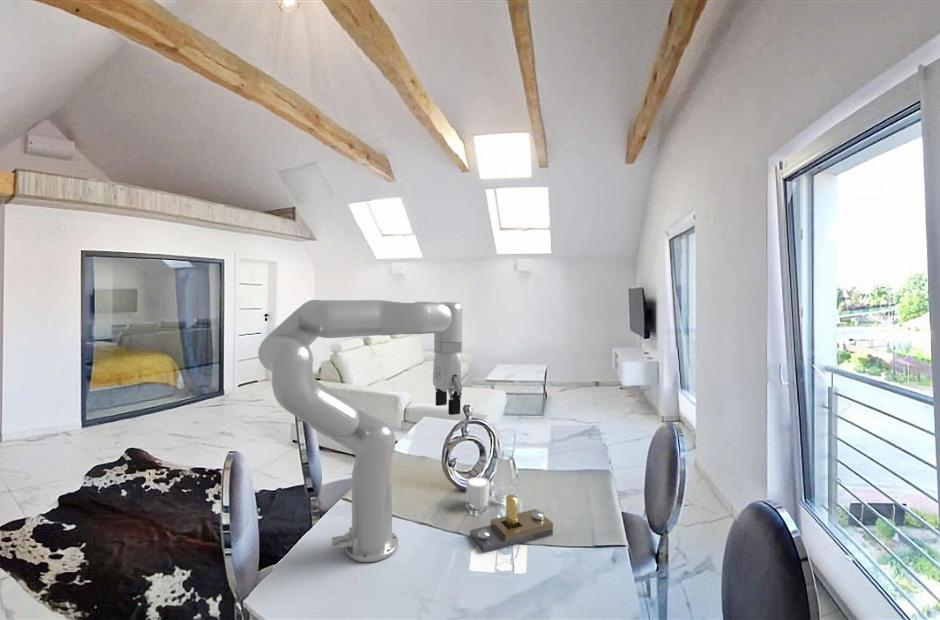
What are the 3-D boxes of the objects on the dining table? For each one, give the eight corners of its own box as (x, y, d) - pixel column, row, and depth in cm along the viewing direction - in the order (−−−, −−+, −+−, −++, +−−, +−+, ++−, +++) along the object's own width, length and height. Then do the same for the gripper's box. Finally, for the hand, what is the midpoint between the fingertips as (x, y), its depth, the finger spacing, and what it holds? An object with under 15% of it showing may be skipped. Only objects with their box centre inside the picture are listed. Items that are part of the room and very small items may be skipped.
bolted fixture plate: (483, 552, 107) (483, 536, 107) (469, 535, 114) (469, 520, 114) (552, 534, 115) (553, 519, 115) (535, 519, 123) (536, 505, 122)
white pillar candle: (487, 511, 127) (487, 487, 126) (463, 509, 128) (464, 485, 128) (491, 500, 133) (491, 477, 133) (468, 498, 135) (469, 475, 134)
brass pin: (509, 539, 113) (509, 501, 112) (503, 533, 115) (504, 496, 115) (519, 537, 114) (520, 498, 113) (513, 531, 117) (514, 493, 116)
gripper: (424, 344, 127) (424, 403, 128) (446, 352, 112) (446, 419, 112) (449, 343, 130) (448, 400, 131) (473, 351, 115) (473, 416, 116)
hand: (447, 409), depth 122 cm, fingers open, 9 cm apart
